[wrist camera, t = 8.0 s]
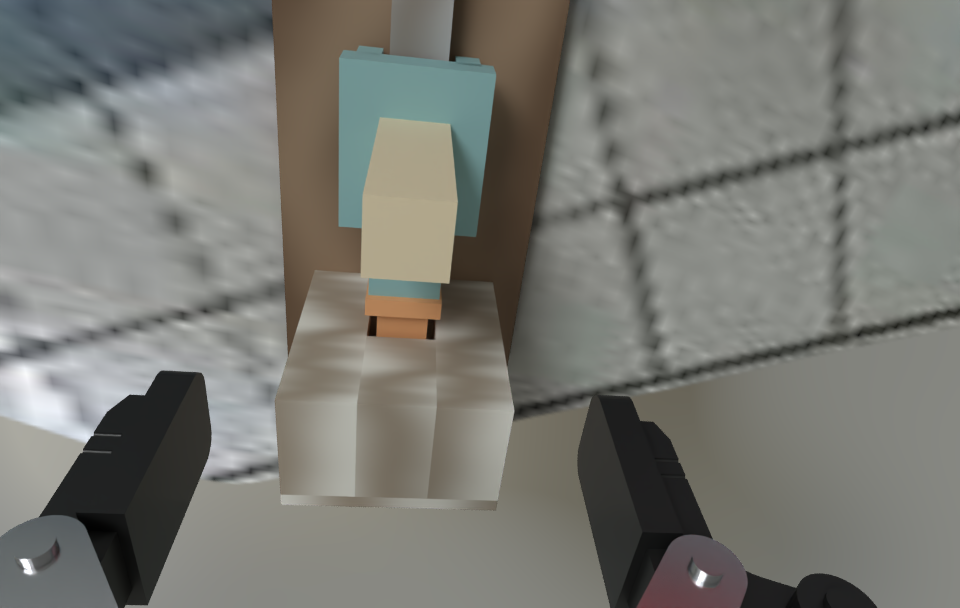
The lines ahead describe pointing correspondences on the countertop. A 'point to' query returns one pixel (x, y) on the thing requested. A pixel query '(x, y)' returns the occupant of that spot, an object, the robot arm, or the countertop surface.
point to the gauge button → (402, 315)
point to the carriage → (411, 163)
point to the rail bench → (319, 134)
